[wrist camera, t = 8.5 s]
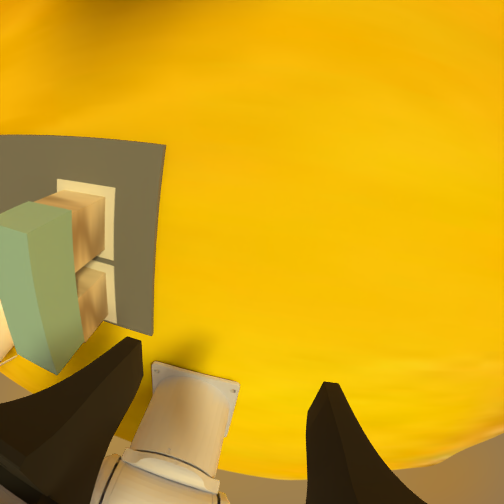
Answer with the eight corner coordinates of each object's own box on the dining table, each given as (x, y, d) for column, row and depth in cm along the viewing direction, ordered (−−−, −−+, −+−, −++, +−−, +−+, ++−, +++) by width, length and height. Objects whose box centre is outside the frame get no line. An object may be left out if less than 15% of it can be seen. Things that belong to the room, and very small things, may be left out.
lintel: (84, 340, 19) (57, 375, 16) (45, 324, 20) (17, 353, 16) (71, 210, 15) (26, 233, 12) (28, 201, 16) (-15, 220, 12)
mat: (153, 333, 24) (151, 336, 23) (8, 279, 24) (5, 281, 24) (166, 145, 18) (163, 145, 17) (-3, 135, 18) (-7, 135, 18)
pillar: (104, 249, 21) (75, 273, 17) (64, 238, 21) (33, 259, 17) (105, 197, 19) (71, 213, 16) (63, 189, 19) (28, 204, 16)
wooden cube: (108, 314, 23) (85, 342, 20) (71, 301, 23) (46, 326, 20) (105, 272, 22) (77, 299, 18) (66, 261, 22) (37, 283, 18)
